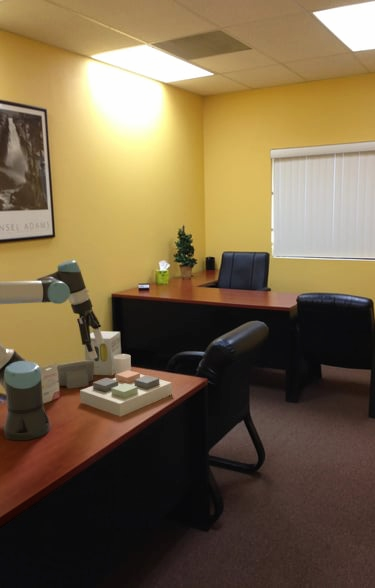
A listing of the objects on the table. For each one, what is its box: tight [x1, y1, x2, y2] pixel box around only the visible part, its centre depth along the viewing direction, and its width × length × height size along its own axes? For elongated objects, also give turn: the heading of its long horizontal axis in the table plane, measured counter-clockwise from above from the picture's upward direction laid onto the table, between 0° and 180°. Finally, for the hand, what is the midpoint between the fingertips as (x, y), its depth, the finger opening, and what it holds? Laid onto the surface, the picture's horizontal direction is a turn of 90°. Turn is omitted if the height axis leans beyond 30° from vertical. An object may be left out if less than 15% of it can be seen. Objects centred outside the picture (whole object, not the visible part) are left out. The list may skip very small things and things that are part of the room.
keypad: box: [79, 373, 173, 418], centre depth 206 cm, size 28×23×5 cm
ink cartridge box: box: [40, 362, 61, 405], centre depth 206 cm, size 9×5×15 cm, turn 143°
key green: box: [111, 383, 138, 399], centre depth 197 cm, size 7×7×5 cm
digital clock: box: [57, 359, 95, 390], centre depth 223 cm, size 16×9×11 cm, turn 104°
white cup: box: [113, 353, 132, 378], centre depth 230 cm, size 8×8×10 cm
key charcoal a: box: [92, 377, 118, 392], centre depth 204 cm, size 7×7×5 cm
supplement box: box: [83, 330, 122, 376], centre depth 241 cm, size 13×13×18 cm
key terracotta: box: [116, 370, 141, 384], centre depth 213 cm, size 7×7×5 cm
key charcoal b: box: [134, 374, 160, 390], centre depth 206 cm, size 7×7×5 cm
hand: (97, 350), depth 201 cm, fingers open, 13 cm apart
